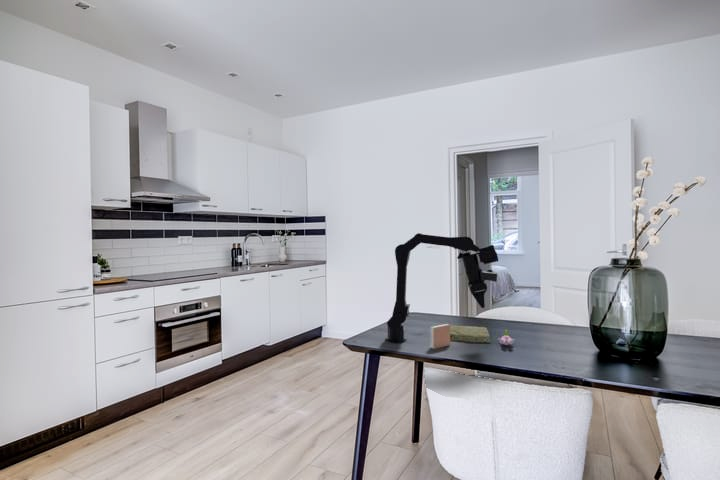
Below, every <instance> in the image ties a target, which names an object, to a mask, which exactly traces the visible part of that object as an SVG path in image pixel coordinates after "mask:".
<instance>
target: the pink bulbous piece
mask: <svg viewBox="0 0 720 480" xmlns="http://www.w3.org/2000/svg"><path fill="white" fill-rule="evenodd" d="M497 340H499V342H500V344H502V345H504V346H509V345H512V344H513V343H514V342H515V339H514V338H512V337H511V336H509V332H508V330H507V329H505V331H504V335H502V336H501V338H499V337H498V338H497Z"/></svg>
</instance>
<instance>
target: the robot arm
mask: <svg viewBox="0 0 720 480" xmlns="http://www.w3.org/2000/svg"><path fill="white" fill-rule="evenodd" d="M420 244H426V245H435V246H441V247H442V246H443V247H450V248H452V249H456V250H460V252H459V254H458V255H457V257H456V259H458V260H460V259H461V260H462V264H463V267H464V270H465V271H464V273H465V275H466V278H467V286H468V288H469V291H470V293H471V295H472V296H473V298H474V300H475V301H476V302H477V303H478V305H479V307H481V309H485V307H486V304H485V294H486V292H487V291H488V286H487V283H486V281H491V282H493V283H494V282H495V283H496V282H497V280H498V273H497V272H494V271H493V269H489V268H487V270H486V271H483V270H482V268H481V266H480V264H481V263H483V265H488V264H492V263H496V262H497V263H498V262H499V256H498V252H497V251H496V248H495V246H494V244H489V245H488V246H484V247H479V246H477V245H476V244H474V240H473V239H472V237H469V236H455V237H453V236H452V237H448V236H440V235H432V234H424V233H420V232H419V233H416V234H415V235H414V236H412V237H411V238H410V239H409V240H407V241H406V242H405V243H403V244H402V243H399V244H398V245H397V246H396V247H395V248H394V256H395V261H396V266H397V271H396V292H395V296H396V298H395V303H394V307H393V310H392V316H391V317H390V318H389V319H388V320H387V322H386V324H387V337H386V338H384V340H385V341H388V342H391V343H394V344H396V343H401V342H405V341H407V339H406V338H405V331H404V325H402V324H404V323H405V322H406V320H407V318H408V317H409V315H410V306H411V304H410V303H409V304H407V300H406V298H407V278H408V277H407V273H408V268H407V267H408V263H409V260H410V256H411V251H413V250H414V249H416V248H417V246H419V245H420ZM461 251H462V252H464V253H462V252H461ZM470 251H472V252H474V253H471V252H470ZM479 262H480V264H479Z"/></svg>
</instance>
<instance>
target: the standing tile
mask: <svg viewBox="0 0 720 480" xmlns="http://www.w3.org/2000/svg"><path fill="white" fill-rule="evenodd" d="M450 326H451V325H450V324H448V323H445V324H444V323H443V324H439V325H434V326H430V332H429V333H430V334H429V335H430V339H429V340H430V349H439V348H443V347H447V346H451V340H450Z"/></svg>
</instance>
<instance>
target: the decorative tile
mask: <svg viewBox="0 0 720 480" xmlns="http://www.w3.org/2000/svg"><path fill="white" fill-rule="evenodd" d="M450 341H455V342H456V341H457V342H465V341H466V343H484V342H486V343H488V344H489V343H491V337H490V334H489V330H488V329H487V327H485V326H472V325H471V326H470V325H469V326H463V325H450ZM486 343H485V344H486Z"/></svg>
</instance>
